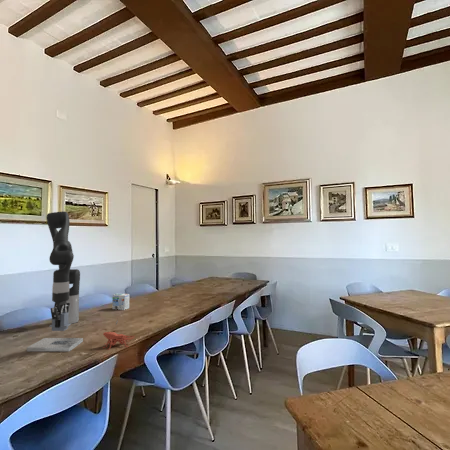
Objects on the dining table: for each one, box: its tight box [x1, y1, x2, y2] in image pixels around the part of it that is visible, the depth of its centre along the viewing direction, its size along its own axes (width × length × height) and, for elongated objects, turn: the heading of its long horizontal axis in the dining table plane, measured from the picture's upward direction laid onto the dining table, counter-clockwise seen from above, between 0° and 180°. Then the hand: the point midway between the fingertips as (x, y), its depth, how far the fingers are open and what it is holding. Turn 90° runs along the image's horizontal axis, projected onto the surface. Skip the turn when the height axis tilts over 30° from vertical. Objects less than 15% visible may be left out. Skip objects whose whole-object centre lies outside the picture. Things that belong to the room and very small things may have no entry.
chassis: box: [26, 337, 84, 353], centre depth 154 cm, size 14×20×2 cm
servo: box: [48, 312, 71, 332], centre depth 155 cm, size 4×8×8 cm, turn 89°
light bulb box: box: [111, 292, 130, 311], centre depth 236 cm, size 11×7×11 cm, turn 76°
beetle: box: [102, 319, 136, 351], centre depth 157 cm, size 15×12×13 cm
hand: (60, 325), depth 154 cm, fingers closed on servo, 4 cm apart
